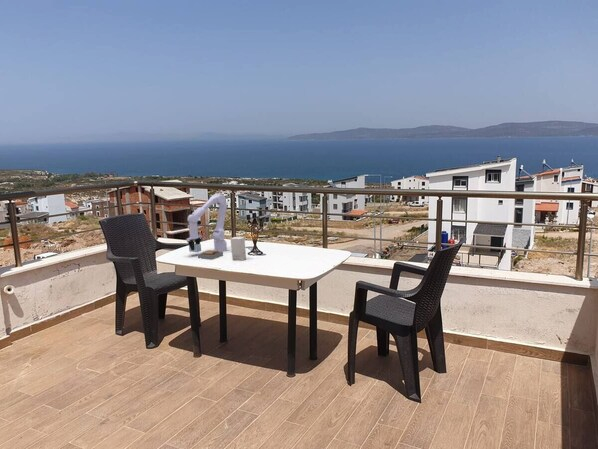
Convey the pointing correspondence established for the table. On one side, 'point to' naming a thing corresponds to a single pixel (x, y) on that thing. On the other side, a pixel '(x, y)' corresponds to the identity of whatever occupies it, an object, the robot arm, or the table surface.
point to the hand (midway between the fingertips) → (195, 249)
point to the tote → (210, 256)
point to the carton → (195, 248)
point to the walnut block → (210, 252)
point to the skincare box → (238, 248)
